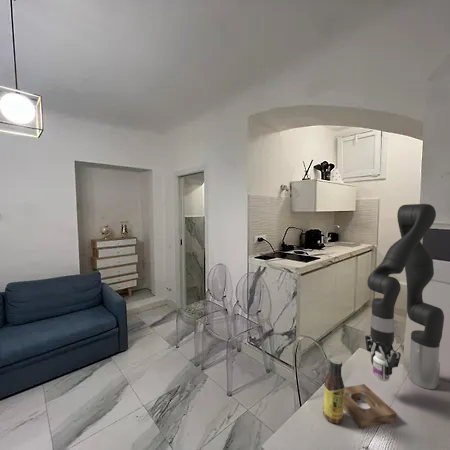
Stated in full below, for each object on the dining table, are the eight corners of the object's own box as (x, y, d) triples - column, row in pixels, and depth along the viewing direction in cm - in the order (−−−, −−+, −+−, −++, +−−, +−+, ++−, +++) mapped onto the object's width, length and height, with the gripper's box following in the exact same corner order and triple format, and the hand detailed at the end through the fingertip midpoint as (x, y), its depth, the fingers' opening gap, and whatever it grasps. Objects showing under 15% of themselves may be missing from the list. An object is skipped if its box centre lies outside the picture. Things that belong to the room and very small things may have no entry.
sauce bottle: (334, 427, 78) (336, 368, 77) (318, 413, 83) (320, 358, 82) (347, 420, 81) (349, 363, 80) (331, 406, 86) (333, 353, 85)
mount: (363, 391, 94) (364, 384, 94) (396, 421, 80) (396, 413, 80) (332, 396, 91) (333, 389, 91) (361, 429, 77) (361, 420, 77)
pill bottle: (384, 372, 94) (385, 349, 93) (392, 382, 89) (393, 357, 88) (369, 372, 94) (370, 348, 94) (377, 381, 89) (377, 356, 89)
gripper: (408, 335, 84) (406, 381, 85) (374, 317, 98) (373, 357, 99) (390, 337, 83) (389, 384, 84) (359, 319, 97) (358, 359, 98)
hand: (381, 369), depth 91 cm, fingers closed on pill bottle, 5 cm apart
